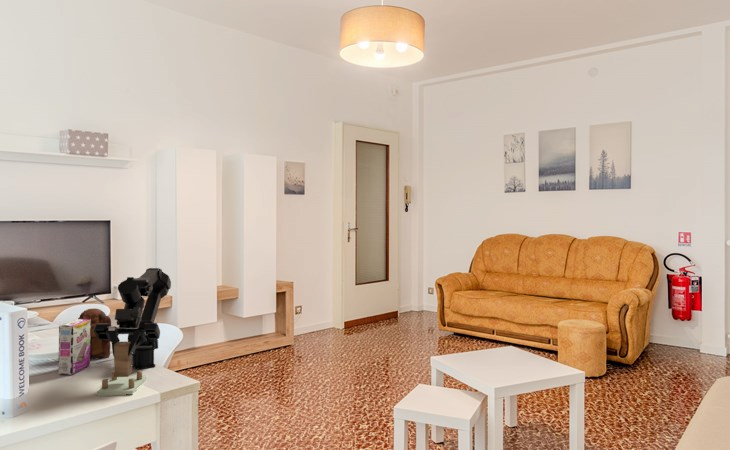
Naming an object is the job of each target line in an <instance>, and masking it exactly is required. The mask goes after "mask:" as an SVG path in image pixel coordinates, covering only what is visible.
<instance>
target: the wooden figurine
mask: <svg viewBox="0 0 730 450" xmlns="http://www.w3.org/2000/svg"><path fill="white" fill-rule="evenodd" d="M77 319H87V320H91V332H90V334H91V335H90V360H100V359H107V358H109V357H110V356H111V342H110V341H109V340H99V339H98V338H97V337H96V335H95V333H94V331H93V330H94V327H95V325H96V324H98V323H109V324H110V326H112V319H111V318H110V316H108V315H107V314H106V312H104V311H103V310H102V309H99V308H88V309H86V310H84V311H83V312H81V313H80V315H79V317H78V318H77Z"/></svg>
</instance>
